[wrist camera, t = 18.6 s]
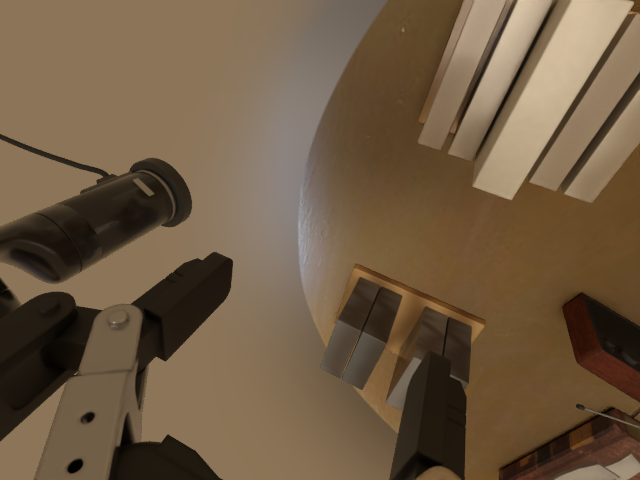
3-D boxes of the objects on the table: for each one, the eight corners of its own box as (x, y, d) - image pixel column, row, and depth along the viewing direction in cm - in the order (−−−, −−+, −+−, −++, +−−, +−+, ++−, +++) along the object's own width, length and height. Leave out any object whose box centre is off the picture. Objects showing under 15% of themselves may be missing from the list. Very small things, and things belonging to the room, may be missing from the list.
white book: (477, 131, 33) (471, 187, 21) (538, 8, 27) (576, -12, 15) (503, 139, 32) (511, 201, 20) (570, 15, 26) (636, 1, 15)
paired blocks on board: (336, 319, 54) (310, 368, 46) (356, 263, 47) (329, 309, 39) (445, 372, 51) (437, 435, 43) (485, 320, 44) (484, 383, 36)
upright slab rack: (418, 119, 35) (394, 149, 26) (473, -25, 28) (466, -52, 19) (560, 166, 32) (588, 218, 23) (660, 19, 25) (755, 11, 16)
